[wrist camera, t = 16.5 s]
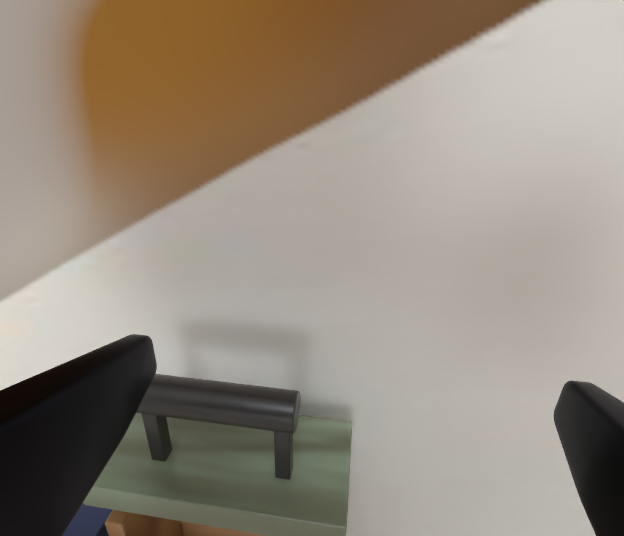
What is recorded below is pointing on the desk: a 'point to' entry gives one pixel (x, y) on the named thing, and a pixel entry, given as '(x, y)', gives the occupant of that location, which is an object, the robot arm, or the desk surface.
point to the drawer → (225, 465)
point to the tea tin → (88, 522)
